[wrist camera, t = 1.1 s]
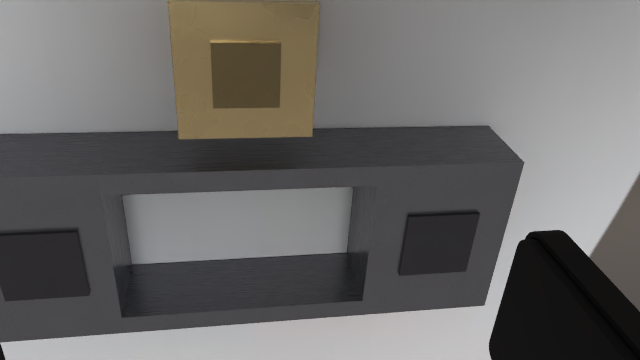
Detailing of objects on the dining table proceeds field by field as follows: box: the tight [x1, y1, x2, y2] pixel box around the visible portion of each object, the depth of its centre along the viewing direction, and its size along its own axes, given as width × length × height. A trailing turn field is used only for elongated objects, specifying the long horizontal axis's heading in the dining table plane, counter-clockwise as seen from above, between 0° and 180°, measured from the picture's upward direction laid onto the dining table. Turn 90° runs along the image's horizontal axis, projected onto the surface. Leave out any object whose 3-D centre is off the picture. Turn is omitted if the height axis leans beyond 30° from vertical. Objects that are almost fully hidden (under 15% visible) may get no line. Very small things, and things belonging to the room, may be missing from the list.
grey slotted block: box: [0, 126, 524, 342], centre depth 28 cm, size 25×9×4 cm, turn 88°
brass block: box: [168, 0, 320, 139], centre depth 22 cm, size 5×5×6 cm
